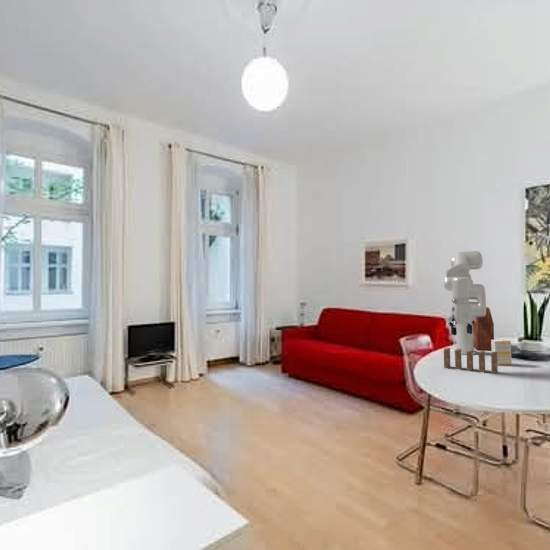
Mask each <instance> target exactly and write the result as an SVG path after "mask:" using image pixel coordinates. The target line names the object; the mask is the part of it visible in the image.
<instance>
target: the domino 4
mask: <svg viewBox="0 0 550 550" xmlns="http://www.w3.org/2000/svg"><path fill="white" fill-rule="evenodd" d="M485 352H486V350H478V373H481V372H484V371H485V372H486V353H485ZM485 372H484V373H485Z"/></svg>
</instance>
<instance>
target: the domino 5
mask: <svg viewBox="0 0 550 550" xmlns="http://www.w3.org/2000/svg"><path fill="white" fill-rule="evenodd" d="M490 361H491V374H492V373H493V375H497V373H498V372H499V371H498V370H499V369H498V368H499V367H498V366H499V365H498V363H497V352H492V351H491V354H490Z"/></svg>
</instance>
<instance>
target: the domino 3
mask: <svg viewBox="0 0 550 550" xmlns="http://www.w3.org/2000/svg"><path fill="white" fill-rule="evenodd" d="M467 370H468V371H467ZM473 370H474V354H473V350H467V355H466V371H467V372H472V371H473Z"/></svg>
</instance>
